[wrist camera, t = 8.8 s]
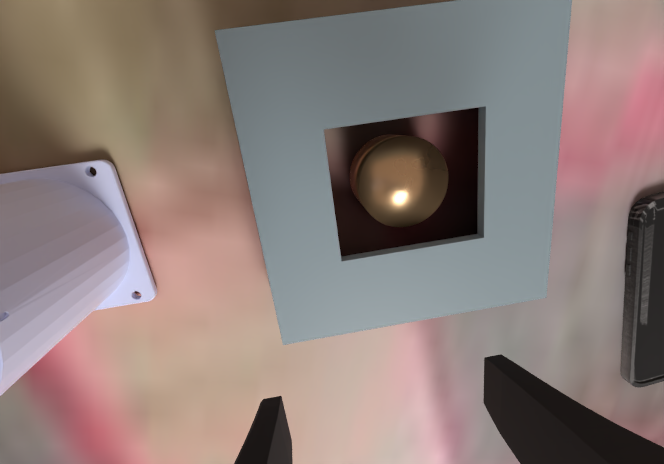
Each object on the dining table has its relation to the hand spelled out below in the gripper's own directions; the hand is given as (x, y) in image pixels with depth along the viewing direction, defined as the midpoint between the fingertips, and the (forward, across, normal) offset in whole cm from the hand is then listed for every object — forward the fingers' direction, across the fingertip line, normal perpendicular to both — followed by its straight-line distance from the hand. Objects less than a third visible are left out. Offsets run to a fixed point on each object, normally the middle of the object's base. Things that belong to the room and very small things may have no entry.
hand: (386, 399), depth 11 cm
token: (+10, -3, -6) cm, 12 cm away
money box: (+9, -3, -6) cm, 12 cm away
